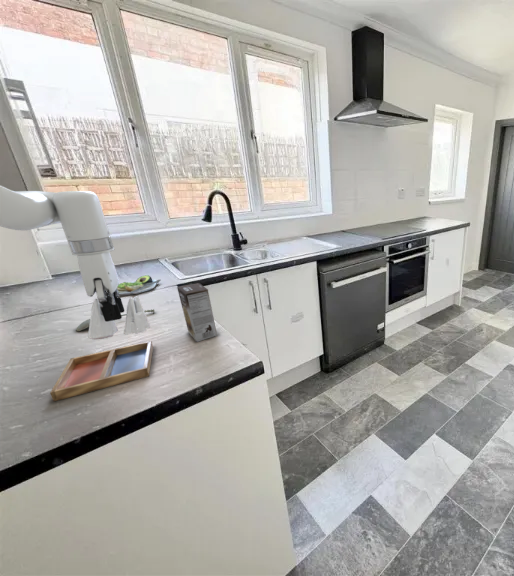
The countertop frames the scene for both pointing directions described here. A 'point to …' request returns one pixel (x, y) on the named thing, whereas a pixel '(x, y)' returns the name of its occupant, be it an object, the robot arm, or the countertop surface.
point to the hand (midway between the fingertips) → (115, 315)
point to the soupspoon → (87, 322)
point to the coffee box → (197, 311)
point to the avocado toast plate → (137, 286)
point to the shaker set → (103, 329)
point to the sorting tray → (103, 370)
